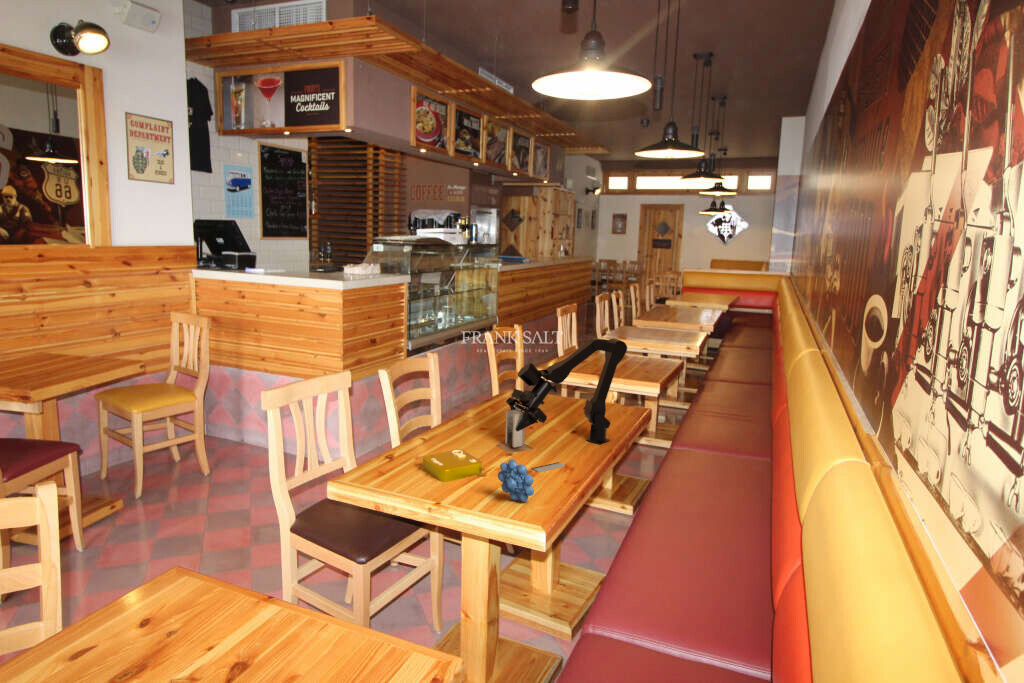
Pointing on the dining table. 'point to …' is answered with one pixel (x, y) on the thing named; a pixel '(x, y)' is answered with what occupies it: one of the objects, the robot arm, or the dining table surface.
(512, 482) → the blue ball cluster
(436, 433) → the dining table surface
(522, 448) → the walnut stand
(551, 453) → the dining table surface
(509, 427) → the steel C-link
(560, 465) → the slate mat
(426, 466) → the element tile
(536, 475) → the dining table surface
